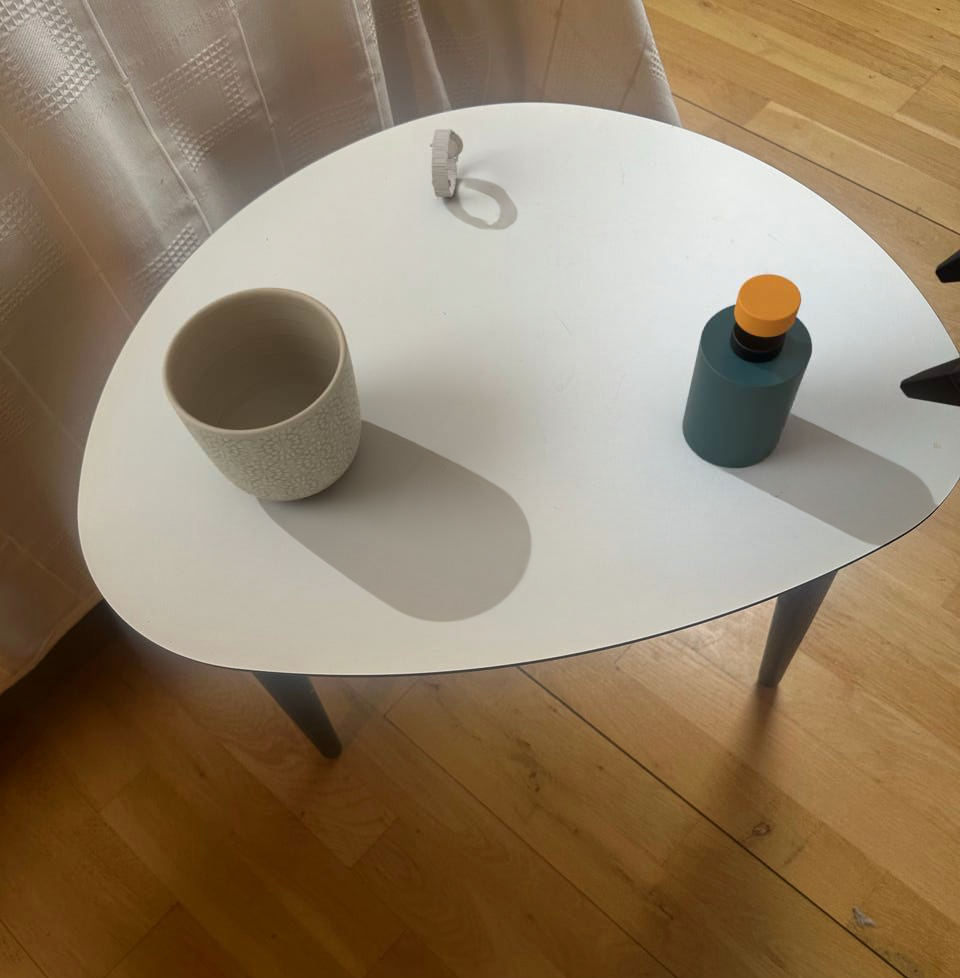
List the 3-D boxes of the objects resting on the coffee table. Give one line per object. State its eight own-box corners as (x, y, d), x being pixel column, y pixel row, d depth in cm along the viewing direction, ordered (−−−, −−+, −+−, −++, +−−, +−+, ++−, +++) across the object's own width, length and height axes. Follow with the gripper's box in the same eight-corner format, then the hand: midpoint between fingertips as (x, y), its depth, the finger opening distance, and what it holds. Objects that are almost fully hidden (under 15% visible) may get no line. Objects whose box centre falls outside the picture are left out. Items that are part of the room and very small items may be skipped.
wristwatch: (465, 169, 81) (460, 117, 76) (459, 209, 79) (453, 158, 74) (434, 168, 81) (427, 117, 76) (426, 208, 79) (419, 157, 74)
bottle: (794, 408, 68) (832, 309, 58) (759, 481, 65) (794, 390, 56) (703, 377, 69) (727, 276, 60) (667, 447, 67) (685, 353, 58)
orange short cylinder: (804, 302, 57) (810, 284, 56) (783, 345, 56) (789, 327, 54) (746, 284, 58) (751, 266, 56) (724, 326, 57) (729, 308, 55)
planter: (206, 413, 71) (151, 312, 61) (357, 374, 72) (326, 267, 62) (229, 542, 66) (173, 455, 56) (391, 499, 67) (363, 405, 57)
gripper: (1231, -65, 40) (892, 118, 52) (1179, 225, 33) (806, 355, 46) (1297, 134, 45) (975, 257, 58) (1263, 418, 39) (909, 487, 51)
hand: (921, 330), depth 53 cm, fingers open, 9 cm apart
